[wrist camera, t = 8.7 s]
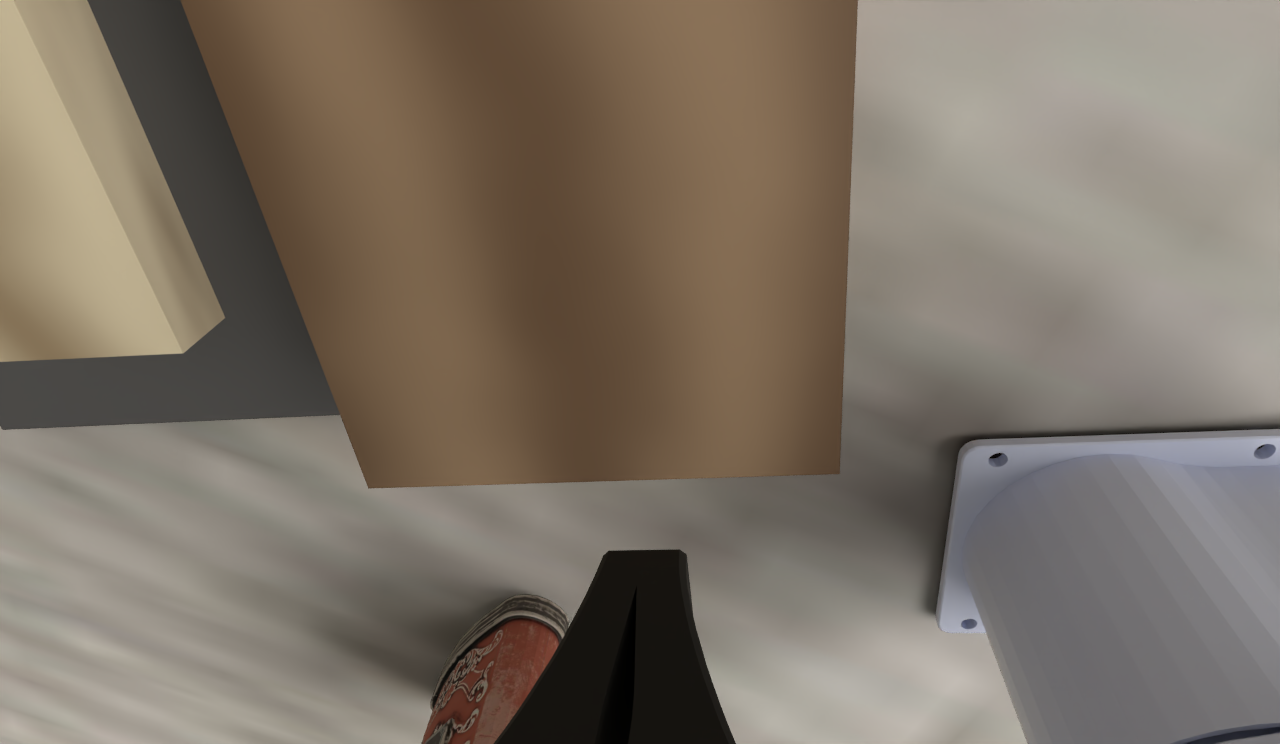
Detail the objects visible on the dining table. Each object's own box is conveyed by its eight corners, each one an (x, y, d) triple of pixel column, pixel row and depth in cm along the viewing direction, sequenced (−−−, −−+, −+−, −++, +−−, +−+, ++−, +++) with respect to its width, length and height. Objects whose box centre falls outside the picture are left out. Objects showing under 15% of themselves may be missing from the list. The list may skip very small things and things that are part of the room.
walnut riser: (834, -384, 13) (876, -483, 10) (819, 384, 21) (839, 474, 18) (206, -275, 15) (53, -330, 11) (419, 402, 23) (368, 488, 20)
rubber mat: (206, -275, 15) (190, -281, 14) (419, 402, 23) (414, 411, 23) (-380, -174, 16) (-409, -176, 16) (14, 420, 25) (2, 429, 24)
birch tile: (-259, -6, 16) (-164, -14, 17) (-20, 362, 20) (36, 327, 22) (-4, -36, 15) (69, -42, 17) (183, 353, 20) (225, 317, 21)
